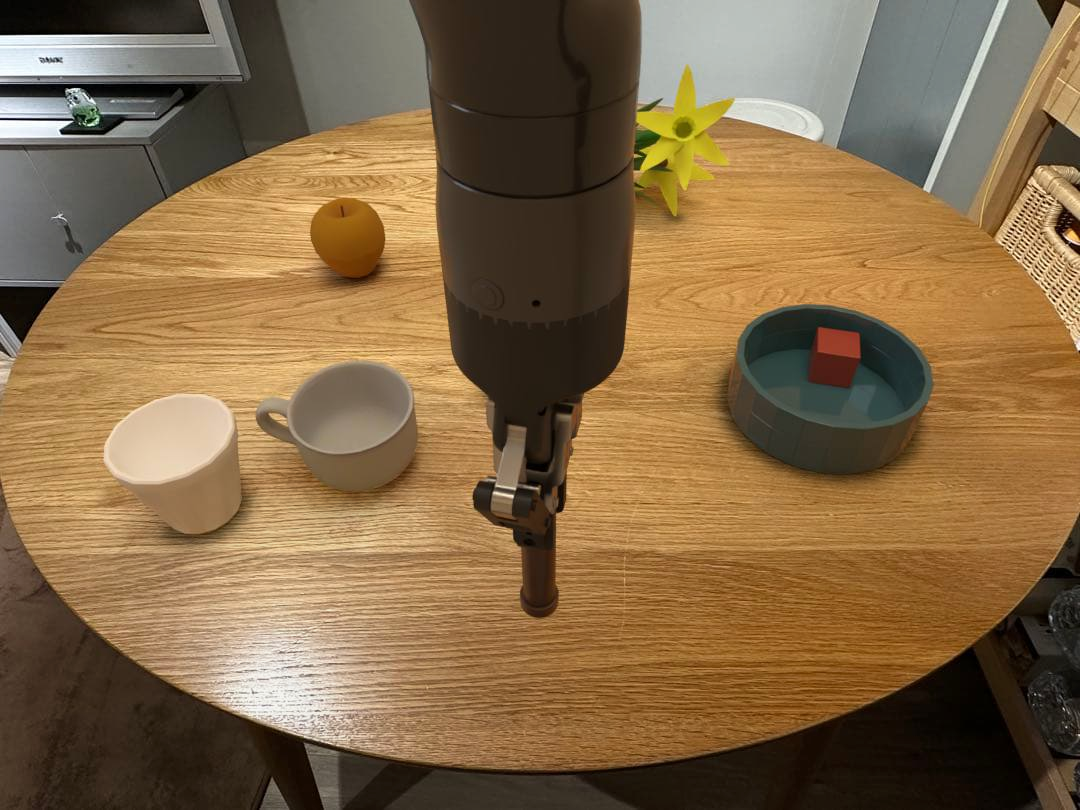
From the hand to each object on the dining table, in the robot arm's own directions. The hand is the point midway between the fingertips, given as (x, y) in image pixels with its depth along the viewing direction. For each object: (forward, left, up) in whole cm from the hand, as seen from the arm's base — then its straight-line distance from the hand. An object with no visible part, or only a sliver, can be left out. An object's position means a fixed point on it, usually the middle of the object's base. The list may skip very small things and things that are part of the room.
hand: (540, 522), depth 43 cm
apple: (+34, -46, -19) cm, 60 cm away
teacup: (+22, -17, -19) cm, 34 cm away
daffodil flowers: (+9, -67, -19) cm, 70 cm away
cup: (+32, -9, -19) cm, 39 cm away
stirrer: (0, 0, -8) cm, 8 cm away
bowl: (-20, -34, -19) cm, 43 cm away
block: (-21, -38, -18) cm, 47 cm away
